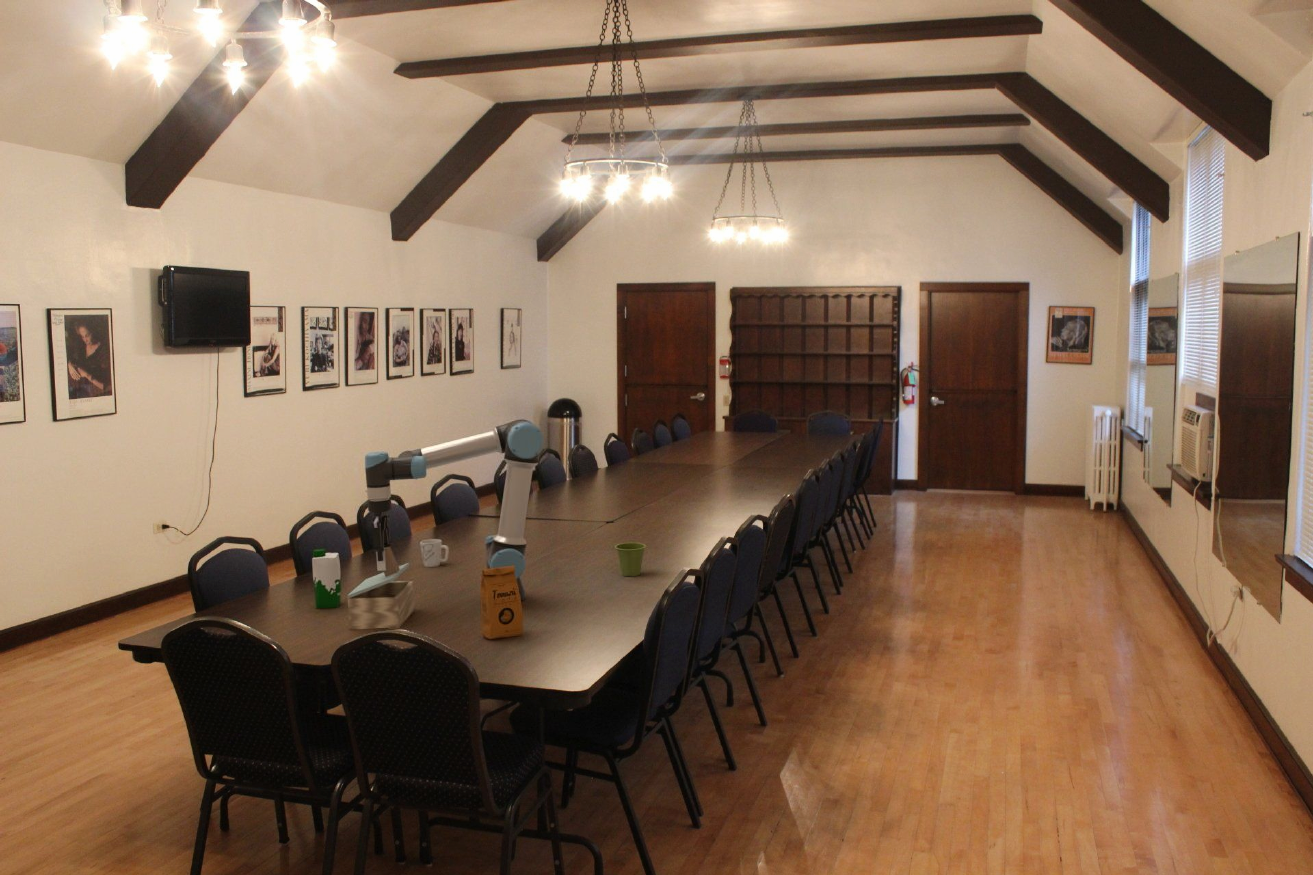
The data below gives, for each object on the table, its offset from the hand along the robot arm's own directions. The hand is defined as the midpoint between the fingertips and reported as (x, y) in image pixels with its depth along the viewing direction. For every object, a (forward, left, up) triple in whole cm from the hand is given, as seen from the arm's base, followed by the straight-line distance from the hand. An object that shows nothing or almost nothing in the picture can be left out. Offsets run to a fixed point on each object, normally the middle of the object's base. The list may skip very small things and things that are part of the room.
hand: (383, 568), depth 347 cm
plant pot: (-80, -55, -17) cm, 99 cm away
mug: (0, -76, -17) cm, 78 cm away
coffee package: (-42, +21, -17) cm, 50 cm away
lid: (+1, 0, -4) cm, 5 cm away
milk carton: (+25, -18, -17) cm, 35 cm away
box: (+1, 0, -17) cm, 17 cm away
